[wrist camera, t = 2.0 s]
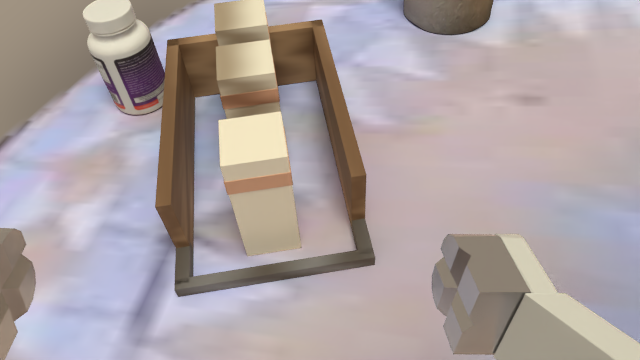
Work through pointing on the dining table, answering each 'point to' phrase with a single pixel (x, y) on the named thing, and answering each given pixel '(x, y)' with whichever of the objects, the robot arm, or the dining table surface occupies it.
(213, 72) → the dispenser
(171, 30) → the dining table surface
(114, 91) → the pill bottle
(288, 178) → the banded cream pillar
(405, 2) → the pillar candle
